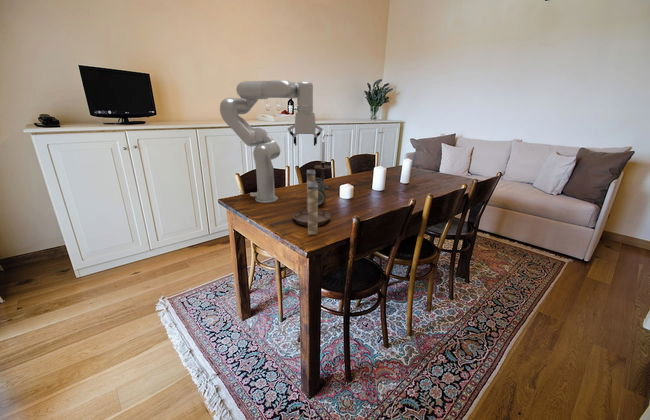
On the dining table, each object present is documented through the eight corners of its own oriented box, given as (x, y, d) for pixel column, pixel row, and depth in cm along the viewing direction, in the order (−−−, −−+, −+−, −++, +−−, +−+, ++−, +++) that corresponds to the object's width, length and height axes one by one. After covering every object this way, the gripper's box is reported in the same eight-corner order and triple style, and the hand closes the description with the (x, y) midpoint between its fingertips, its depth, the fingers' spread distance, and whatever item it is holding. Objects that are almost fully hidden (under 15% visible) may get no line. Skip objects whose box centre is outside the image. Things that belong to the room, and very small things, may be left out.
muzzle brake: (324, 192, 177) (325, 176, 173) (325, 208, 151) (325, 189, 147) (309, 192, 177) (309, 176, 173) (307, 207, 150) (307, 189, 147)
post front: (307, 234, 119) (308, 187, 112) (307, 226, 127) (307, 181, 120) (317, 234, 120) (318, 187, 112) (316, 226, 127) (317, 181, 120)
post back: (307, 214, 141) (307, 173, 134) (306, 208, 149) (306, 169, 142) (315, 214, 141) (315, 173, 134) (314, 208, 149) (314, 169, 142)
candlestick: (329, 185, 193) (331, 133, 180) (331, 190, 183) (333, 134, 170) (314, 185, 192) (314, 132, 180) (314, 190, 182) (315, 134, 170)
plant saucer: (302, 212, 145) (302, 206, 144) (335, 217, 139) (335, 211, 138) (286, 224, 129) (286, 218, 128) (321, 231, 123) (321, 224, 122)
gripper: (286, 109, 132) (287, 146, 138) (323, 110, 133) (322, 146, 139) (287, 109, 139) (288, 144, 145) (322, 109, 140) (321, 144, 146)
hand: (305, 145), depth 142 cm, fingers open, 9 cm apart
